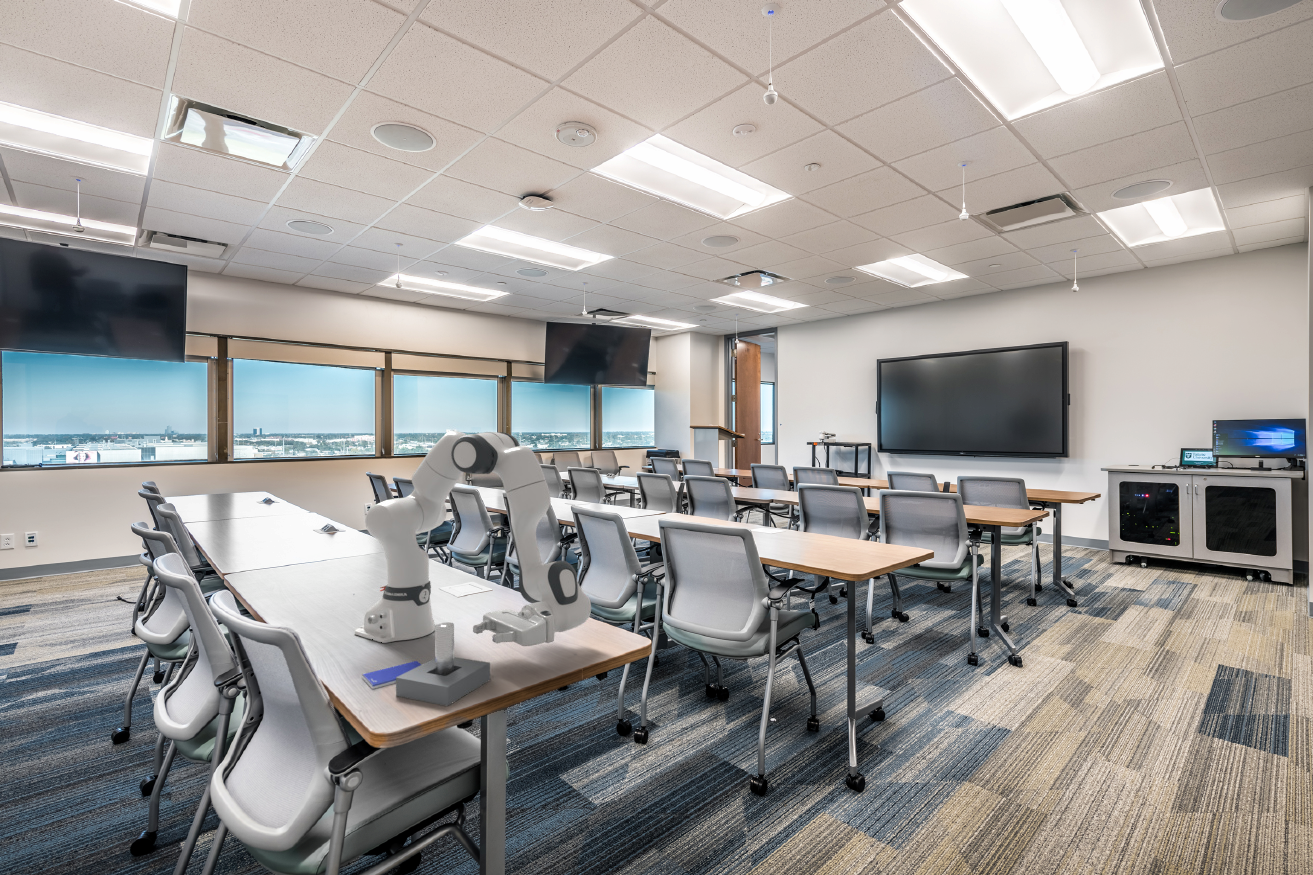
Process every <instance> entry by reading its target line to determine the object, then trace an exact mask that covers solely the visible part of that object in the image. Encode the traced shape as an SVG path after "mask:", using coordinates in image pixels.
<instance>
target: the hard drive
mask: <svg viewBox="0 0 1313 875" xmlns="http://www.w3.org/2000/svg"><path fill="white" fill-rule="evenodd" d="M420 665H422V664H421V663H420V662H419V661H417V660H414V661H410V662H405V663H403V664H398V665H395V666H390V667H386V668H382V669H378V670H374V671H370V672H366V673H362V674H361V679H362V681H364V682H365V683H366V684H367V685H368V686H369V687H370V688H371V689H372V690H374V689H378V688H381V687H385V686H389V685H392V684H396V677H398V676H400V675H402V674H404V673H406V672H408V671H410V670H412V669H414V668H416V667H418V666H420Z"/></svg>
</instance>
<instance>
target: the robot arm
mask: <svg viewBox="0 0 1313 875" xmlns="http://www.w3.org/2000/svg"><path fill="white" fill-rule="evenodd" d="M519 442H520V441H518V439H517V438H516V437H515V436H513V435H511V434H510V433H507V432H499V431H498V432H495V431H484V432H479V433H468V434H466V433H464V432H462V431H459V430H453V431H452V430H451V431H448V432H446V433H445V434H444V435H443V436H442V437H440V439H439V440H438V441H437V442H436V443H435V444H434V445H433V446H432V447H431V448H430V450H429V451H428V452H427V454H426V455H425V457H423V459H422V461H421V463H420V464H419V466H418V467H417V468H416V470H414V473H413V474H412V477H411V483H412V486H413V491H412V492H411V493H410V494H409V495H408V496H405V497H399V498H393V499H386V500H384V501H383V500H382V501H381V502H379V503H377V504H374V505H371V507H370V508H369V509H368V510H367V512H366V515H365V522H364V523H365V527H366V530H367V532H368V533H369V534H370V536H372V537H373V538H375V539H376V540H377V542H379V544H380V545H381V547H382V550H383V551H384V555H385V558H386V559H385V560H386V577H387V580H386V581H387V583H386V585H384V586H381V587H380V590H379V591H380V592H382V593H383V594H382V597H381V598H380V599H379V600H378V601H377V602H376V603H374V604H373V605H372V606H370V607H369V608H368V609H367V610H366V611H365V614H364V619H363V625H361V626H359V627H357V628H356V629H355V630H354V635H356V636H360V637H362V638H366V639H369V640H372V639H373V640H372V641H375V642H378V643H381V642H382V644H387V643H391V642H398V641H406V640H407V641H408V640H413V639H414V640H415V639H418V638H422V637H426V636H427V635H430V634H432V633H434V632H435V626H436V625H435V619H434V617H433V611H432V610H433V609H432V603H431V598H430V597H431V594H432V593H431V592H432V590H431V589H432V584H431V580H430V568H429V567H430V559H429V557H430V556H429V554H428V553H427V551H425V550H424V549H422V548H421V547H420V546H419V543H418V541H417V535H418V534H422V533H426V532H430V531H432V530H434V529H436V528H437V527H440V526H441V525H443V523H444V521H445V520H446V517H447V507H446V505H445V503H446V500H447V498H448V496H449V494H450V493H451V492H452V490H453V488H454V487H455V486H456V484H457V483H458V482H459V480H460V479H461V477H462V475H463V474H464V473H465V474H468V475H489V474H491V473H493V474H495V475H497V476H499V478H500V479H501V482H502V486H503V488H504V492H505V494H506V498H507V503H508V506H509V513H510V514H509V515H510V530H511V531H510V532H511V536H512V540H513V541H512V542H513V546H514V550H515V555H516V560H517V564H518V589H519V593H520V595H521V596H522V598H523V599H524V600H525V601H526V602H528V603H527V604H525V605H523V606H522V608H521V610H520V611H519V612H517V611H515V610H512V609H501V610H497V611H496V610H495V611H491V612H486V613H485V614H483V615H482V621H481V622H480V623H478V624H474V625H473V626H472V632H473V633H474V634H477V635H478V634H483V633H484V631H489V632H492V633H494V634H492V638H491V639H492V642H493V643H494V644H501V643H512V642H513V643H516V644H517V645H519V646H520V647H521V646H522V647H532V646H537V645H540V644H541V645H542V644H543V643H546V644H549V643H553V642H554V641H555V633H564V632H567V631H570V630H572V629H575V628H578V627H580V626H582V625H584V624H585V623H586V622H587V620H588V619H589V618H590V615H591V612H592V605H591V604H592V602H591V600H590V598H589V595H587V594H586V593H585V592H584V591H583V590H582V588H581V585H580V584H579V581H578V575H577V572H576V570H575V568H574V566H573V565H572V564H571V563H569V562H568V561H566V560H557V561H553V562H548V563H545V564H544V563H543V561H542V558H541V553H540V549H539V544H538V539H537V529H538V528H537V527H538V525H539V523H540V521H541V519H542V518H543V517H544V516H545V515H546V514H547V512H548V510H549V508H550V505H551V502H552V501H551V493H550V489H549V486H548V482H547V480H546V477H545V473H544V471H543V469H542V466H541V463H540V462H539V460H538V458H537V456H536V454H535V452H534V451H533V450H532V449H531V448H530V447H528V446H527V447H526V446H521V445H520V443H519Z"/></svg>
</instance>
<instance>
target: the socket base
mask: <svg viewBox="0 0 1313 875" xmlns="http://www.w3.org/2000/svg"><path fill="white" fill-rule="evenodd" d="M489 681H491V663H490V662H488V661H482V660H477V659H470V658H463V657H457V656H454V672H452V673H451V674H449V675H447V676H442V675H436V674H435V657H434V658H432V659H431V660H429V661H426V662H424V663H422V664H421V665H420V666H418V667H416V668H414V669H412V670H410V671H408V672H406V673H404V674H402V675H400V676H398V677H396V683H395V686H396V687H395V691H396V694H395V696H396V697H399V698H406V699H410V700H415V701H420V702H424V703H430V704H435V705H439V706H440V705H441V706H444V705H447V706H446V707H448V705H449V706H451V705H452V704H453V703H452V702H454V701H455V702H457V701H459V700H460V699H461V698H460V697H462V696H464V695H465V696H466V694H467V695H468V694H470V693H471V692H470V691H472V692H473V691H474V689H475V690H477V689H478V688H480V687H481V686H483V685H485V684H486V683H488V682H489ZM484 683H485V684H484ZM482 684H483V685H482ZM479 686H480V687H479ZM469 692H470V693H469ZM465 696H464V697H465ZM462 698H463V697H462ZM458 699H459V700H458ZM456 700H457V701H456ZM455 702H454V703H455ZM451 703H452V704H451ZM450 704H451V705H450Z"/></svg>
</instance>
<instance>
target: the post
mask: <svg viewBox="0 0 1313 875" xmlns="http://www.w3.org/2000/svg"><path fill="white" fill-rule="evenodd" d="M434 655H435V657H434V658H435V674H436V675H442V676H447V675H449V674H451V673H452V672H454V657H455V623H453V622H440V623H437V624H436V625H435V630H434Z"/></svg>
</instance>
